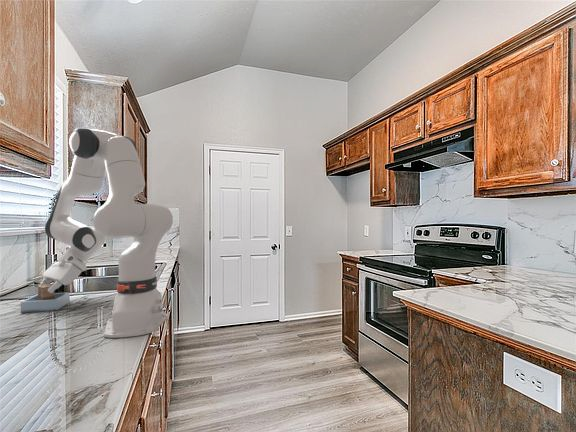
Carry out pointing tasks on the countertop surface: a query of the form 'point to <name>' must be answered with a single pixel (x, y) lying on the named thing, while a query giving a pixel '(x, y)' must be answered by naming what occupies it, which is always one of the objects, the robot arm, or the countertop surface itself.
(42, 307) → the box
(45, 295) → the block
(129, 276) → the robot arm
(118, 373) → the countertop surface
